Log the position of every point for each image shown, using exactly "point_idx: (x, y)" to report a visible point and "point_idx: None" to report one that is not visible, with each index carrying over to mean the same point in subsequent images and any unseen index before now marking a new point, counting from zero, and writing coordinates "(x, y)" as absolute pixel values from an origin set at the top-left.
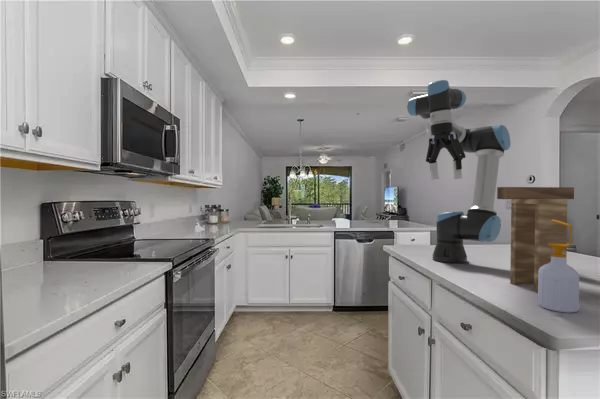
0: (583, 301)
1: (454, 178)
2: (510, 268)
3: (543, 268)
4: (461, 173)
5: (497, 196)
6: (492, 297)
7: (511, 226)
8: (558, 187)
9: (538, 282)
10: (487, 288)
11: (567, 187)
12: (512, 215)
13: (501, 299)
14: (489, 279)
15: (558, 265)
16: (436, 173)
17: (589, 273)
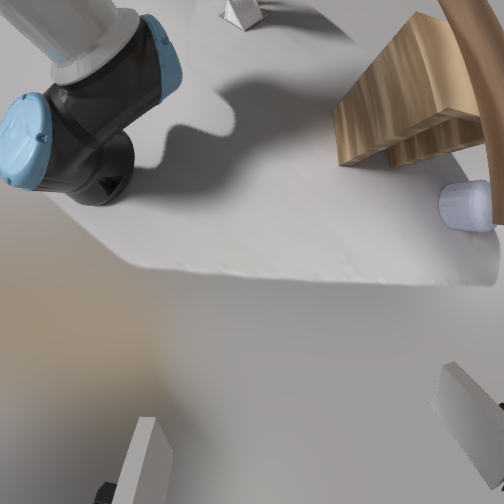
0: None
1: (435, 407)
2: (349, 160)
3: (486, 227)
4: (474, 381)
5: (500, 224)
6: (410, 267)
7: (395, 135)
8: (494, 14)
9: (464, 225)
10: (367, 239)
11: None
12: (416, 126)
13: (419, 259)
14: (304, 186)
15: None
16: (150, 467)
17: None
